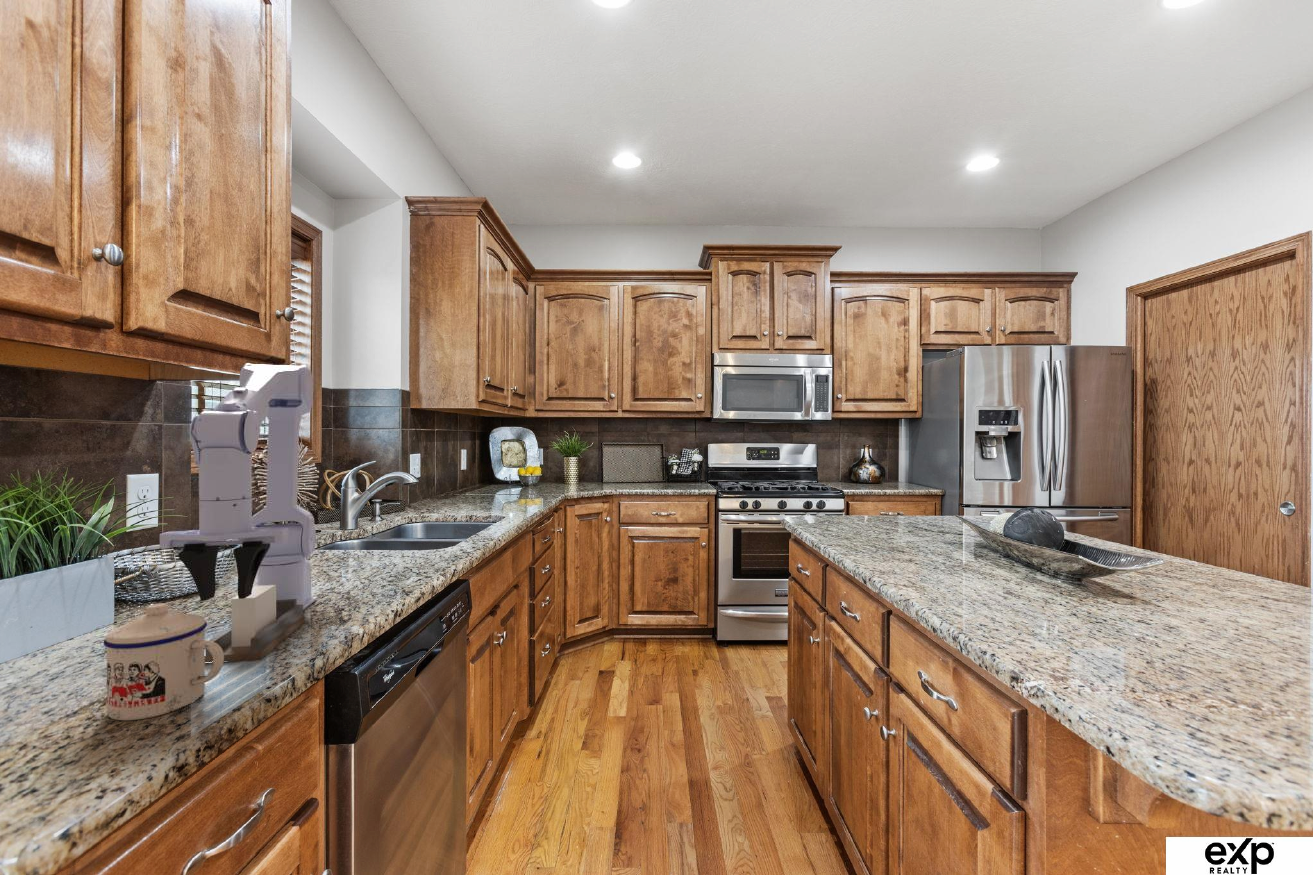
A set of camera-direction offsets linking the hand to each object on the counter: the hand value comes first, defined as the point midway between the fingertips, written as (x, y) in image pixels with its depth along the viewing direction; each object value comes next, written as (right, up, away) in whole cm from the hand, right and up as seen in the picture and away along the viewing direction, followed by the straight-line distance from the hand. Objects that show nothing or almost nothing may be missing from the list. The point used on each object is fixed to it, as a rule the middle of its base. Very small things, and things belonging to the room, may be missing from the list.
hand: (226, 597), depth 77 cm
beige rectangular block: (-2, -8, +8) cm, 12 cm away
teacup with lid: (+1, -10, -10) cm, 14 cm away
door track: (-2, -9, +9) cm, 13 cm away
